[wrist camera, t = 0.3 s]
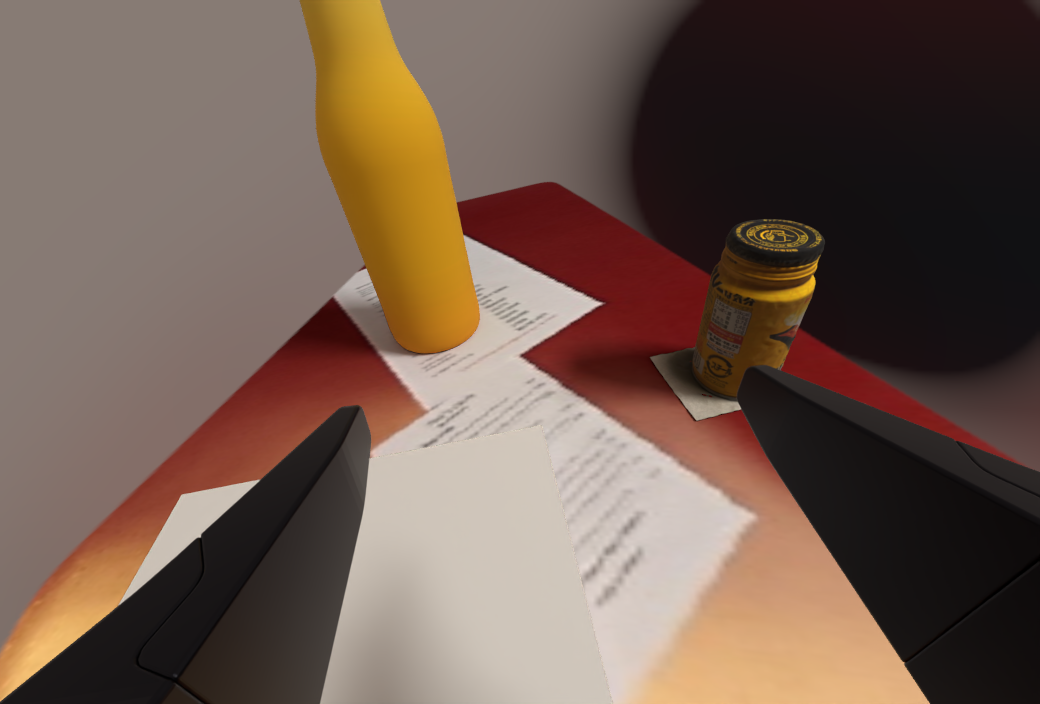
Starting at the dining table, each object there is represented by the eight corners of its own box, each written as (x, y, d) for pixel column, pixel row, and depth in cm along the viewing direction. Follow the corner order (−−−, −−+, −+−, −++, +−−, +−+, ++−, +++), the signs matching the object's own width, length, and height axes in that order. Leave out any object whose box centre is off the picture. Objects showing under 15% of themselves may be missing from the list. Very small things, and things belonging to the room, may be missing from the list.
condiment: (801, 395, 29) (875, 244, 22) (696, 422, 29) (734, 275, 21) (738, 338, 35) (780, 203, 27) (649, 360, 34) (666, 226, 27)
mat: (671, 937, 13) (673, 941, 12) (-182, 1161, 12) (-208, 1173, 11) (542, 430, 29) (541, 424, 29) (187, 499, 28) (181, 494, 28)
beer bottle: (394, 314, 44) (258, -47, 26) (474, 296, 46) (398, -62, 27) (394, 365, 37) (207, -81, 19) (489, 343, 38) (398, -100, 20)
